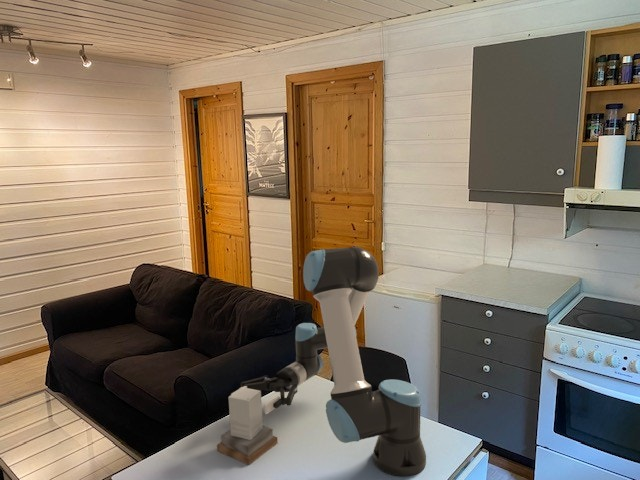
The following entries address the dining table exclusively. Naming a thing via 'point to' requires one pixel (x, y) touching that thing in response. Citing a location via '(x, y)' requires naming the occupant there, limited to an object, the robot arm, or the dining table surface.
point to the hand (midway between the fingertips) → (248, 403)
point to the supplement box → (245, 413)
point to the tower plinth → (247, 458)
